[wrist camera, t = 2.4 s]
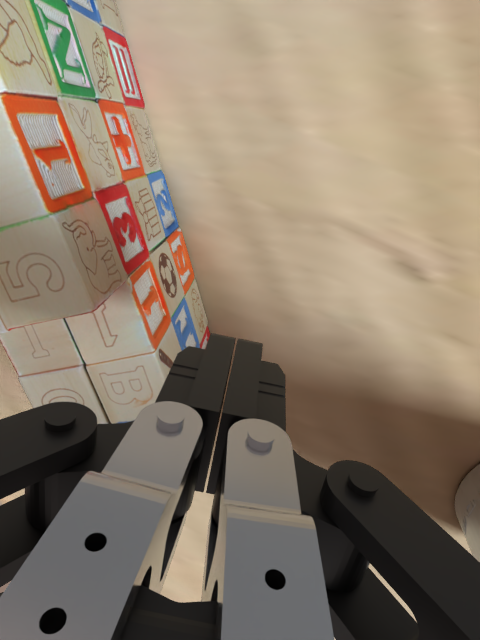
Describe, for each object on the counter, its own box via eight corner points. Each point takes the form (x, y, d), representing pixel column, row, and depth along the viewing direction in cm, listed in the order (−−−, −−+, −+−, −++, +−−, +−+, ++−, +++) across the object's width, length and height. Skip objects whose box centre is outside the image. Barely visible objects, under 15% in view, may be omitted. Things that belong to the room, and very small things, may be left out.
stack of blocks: (224, 366, 28) (185, 532, 16) (132, 381, 29) (37, 547, 17) (103, -43, 19) (-141, -270, 8) (-18, 0, 20) (-380, -147, 9)
